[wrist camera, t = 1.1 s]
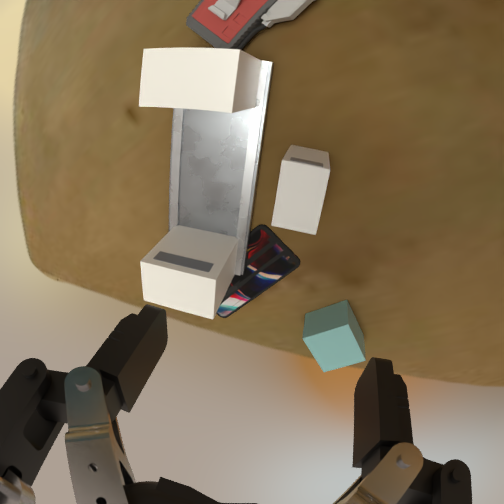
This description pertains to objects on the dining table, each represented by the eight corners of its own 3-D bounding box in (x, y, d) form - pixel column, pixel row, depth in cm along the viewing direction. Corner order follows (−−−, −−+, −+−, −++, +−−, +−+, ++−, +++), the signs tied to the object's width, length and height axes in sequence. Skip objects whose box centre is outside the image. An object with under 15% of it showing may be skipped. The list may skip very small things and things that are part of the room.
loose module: (328, 151, 31) (331, 169, 25) (317, 204, 34) (316, 235, 28) (290, 144, 32) (281, 159, 25) (281, 197, 35) (270, 225, 28)
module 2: (239, 237, 37) (215, 279, 29) (235, 273, 40) (213, 319, 32) (176, 224, 38) (140, 260, 30) (175, 259, 41) (143, 300, 33)
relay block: (346, 298, 40) (363, 334, 42) (305, 313, 42) (325, 346, 44) (348, 324, 35) (365, 360, 38) (302, 338, 38) (323, 372, 40)
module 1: (262, 60, 27) (240, 48, 19) (255, 107, 30) (231, 113, 22) (187, 55, 28) (143, 48, 20) (182, 100, 31) (138, 106, 23)
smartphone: (303, 264, 38) (223, 320, 45) (303, 261, 39) (224, 317, 46) (261, 221, 37) (186, 287, 44) (262, 219, 37) (188, 284, 44)
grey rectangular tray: (273, 63, 28) (271, 61, 27) (245, 269, 40) (242, 276, 39) (183, 57, 29) (177, 56, 28) (172, 253, 42) (168, 258, 40)
